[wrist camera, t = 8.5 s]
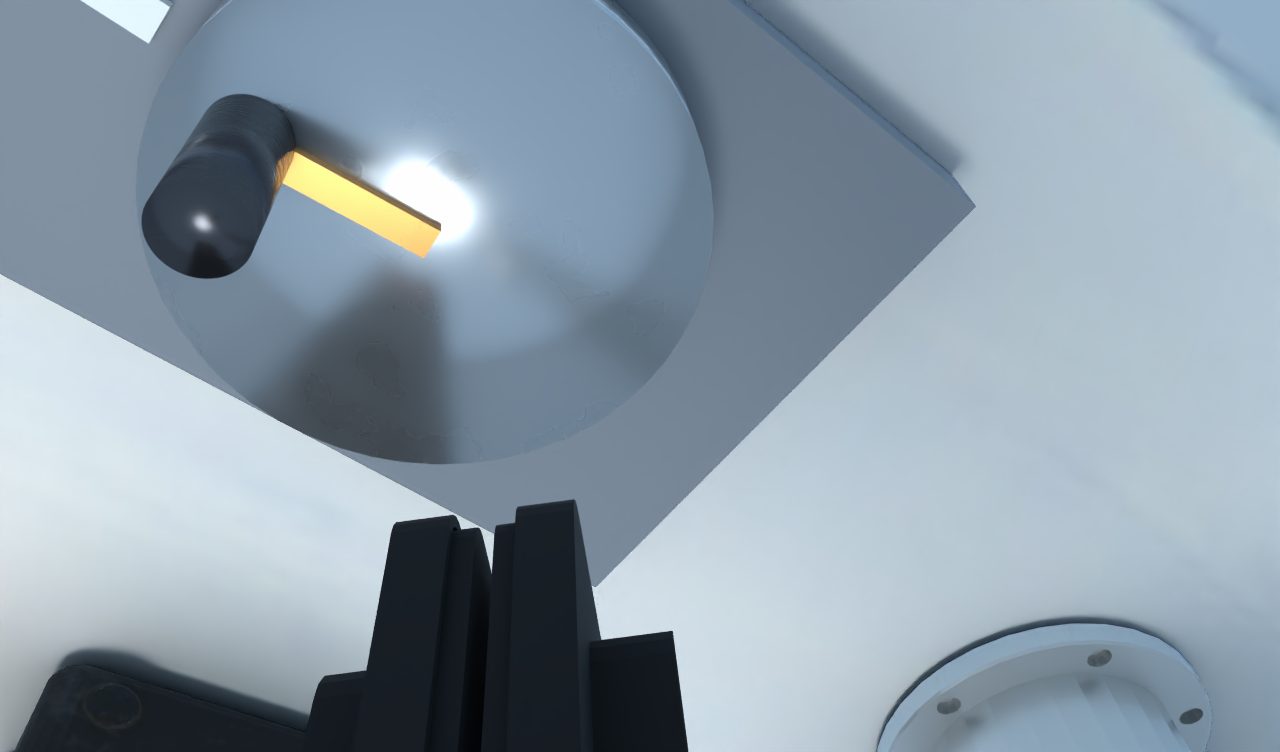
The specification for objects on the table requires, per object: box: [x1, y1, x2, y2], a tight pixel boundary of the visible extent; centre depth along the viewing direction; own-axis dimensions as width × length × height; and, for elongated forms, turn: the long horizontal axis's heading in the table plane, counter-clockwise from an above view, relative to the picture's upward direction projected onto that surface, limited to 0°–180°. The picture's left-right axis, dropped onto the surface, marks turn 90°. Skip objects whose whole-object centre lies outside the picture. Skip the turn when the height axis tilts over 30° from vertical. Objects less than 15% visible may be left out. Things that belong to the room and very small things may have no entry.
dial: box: [135, 0, 714, 464], centre depth 25 cm, size 13×13×6 cm
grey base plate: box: [0, 0, 976, 587], centre depth 29 cm, size 22×16×2 cm
